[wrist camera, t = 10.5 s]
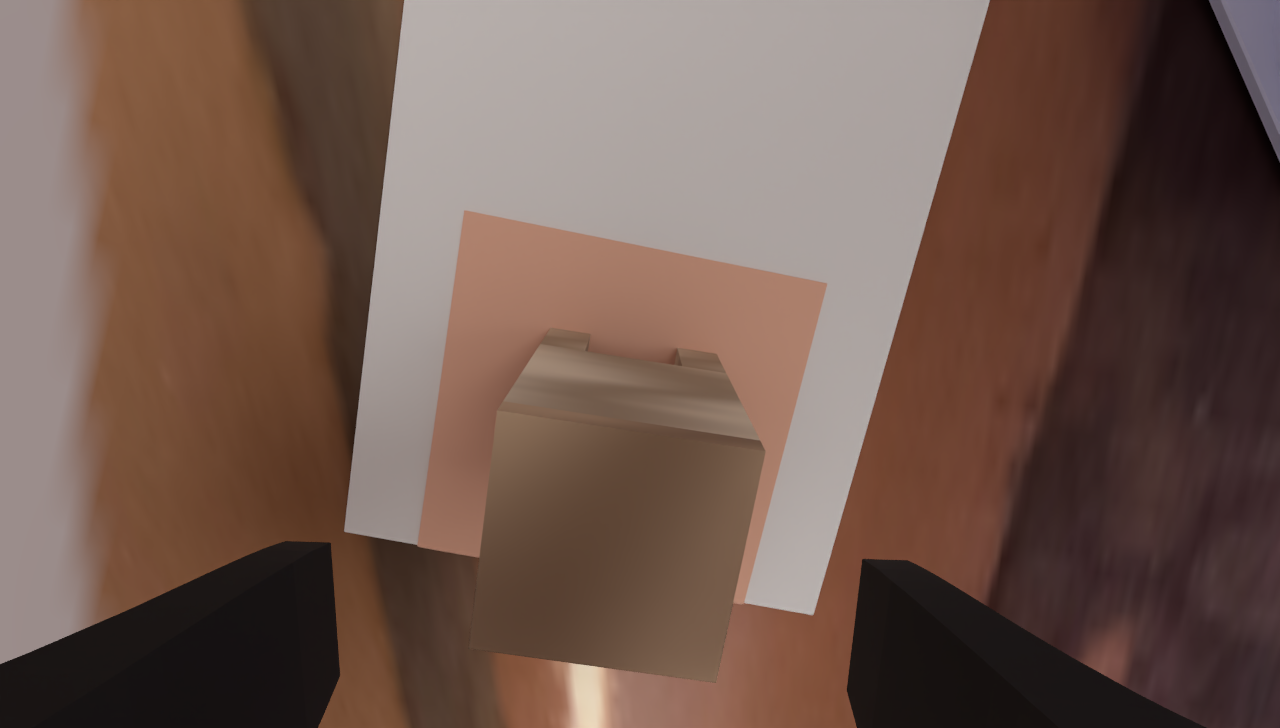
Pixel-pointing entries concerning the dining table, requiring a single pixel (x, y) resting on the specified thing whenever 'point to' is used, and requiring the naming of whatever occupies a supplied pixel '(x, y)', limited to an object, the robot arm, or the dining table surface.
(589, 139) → the mat
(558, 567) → the beige notched block
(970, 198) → the dining table surface
